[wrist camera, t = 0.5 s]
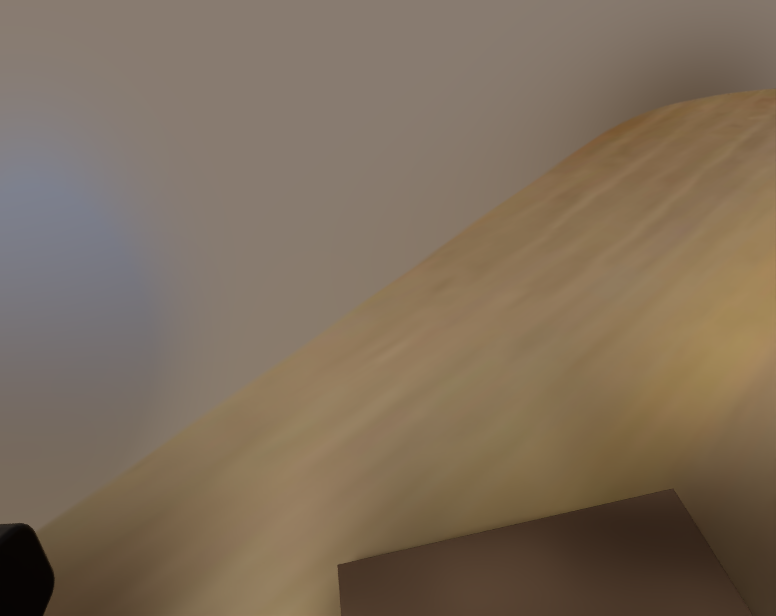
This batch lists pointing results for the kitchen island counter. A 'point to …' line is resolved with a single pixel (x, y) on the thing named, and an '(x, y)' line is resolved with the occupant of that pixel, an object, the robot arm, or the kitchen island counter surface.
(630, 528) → the board
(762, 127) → the kitchen island counter surface
